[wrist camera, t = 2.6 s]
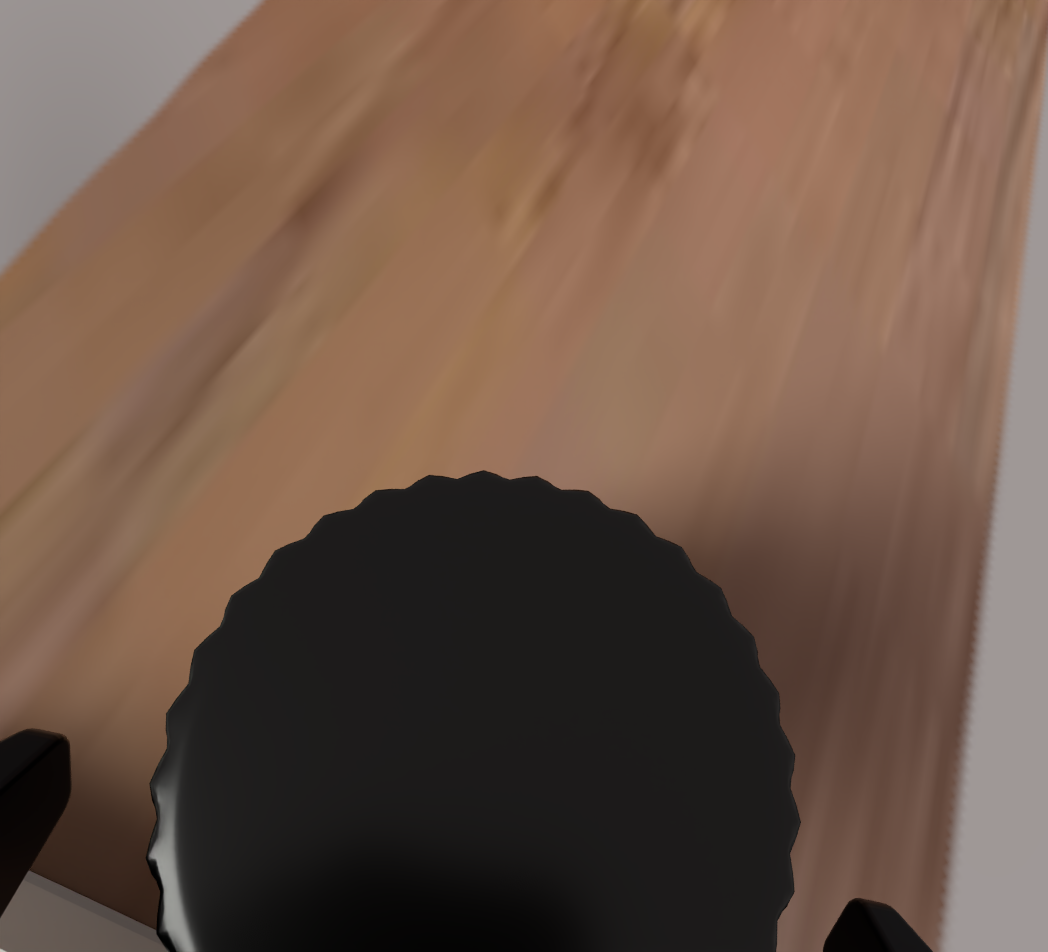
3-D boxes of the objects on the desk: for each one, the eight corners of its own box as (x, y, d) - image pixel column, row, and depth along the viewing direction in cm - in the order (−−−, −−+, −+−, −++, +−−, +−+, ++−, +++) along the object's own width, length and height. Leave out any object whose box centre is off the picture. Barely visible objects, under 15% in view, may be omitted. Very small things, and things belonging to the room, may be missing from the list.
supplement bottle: (536, 574, 18) (703, 283, 7) (648, 851, 16) (1146, 1068, 5) (265, 674, 16) (-84, 500, 5) (352, 998, 14) (74, 1847, 3)
